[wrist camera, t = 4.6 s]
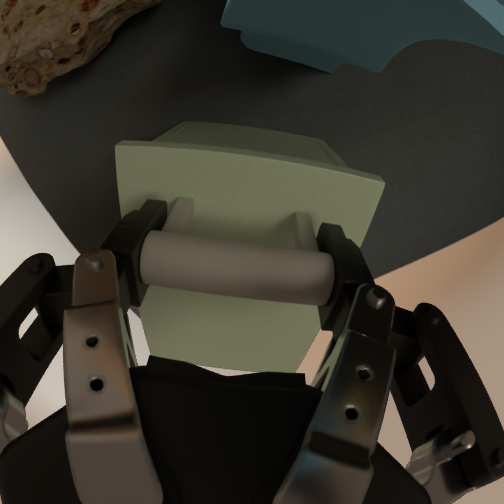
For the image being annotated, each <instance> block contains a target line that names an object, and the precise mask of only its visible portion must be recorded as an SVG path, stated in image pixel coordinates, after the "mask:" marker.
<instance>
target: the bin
mask: <svg viewBox="0 0 504 504" xmlns="http://www.w3.org/2000/svg"><path fill="white" fill-rule="evenodd" d="M153 141H155V142H173V143H187V144H199V145H210V146H219V147H228V148H237V149H244V150H252V151H259V152H266V153H272V154H278V155H284V156H290V157H296V158H301V159H307V160H312V161H317V162H322V163H327V164H331V165H336V166H340V167H345V168H349V167H348V166H347V165H346V164H345V163H344V162H343V161H342V160H341V159H340V157H339V156H338V155H337V154H336V153H335V152H334V151H333V150H332V149H331V148H330V147H329V146H328V145H327V144H326V143H325V142H324V141H323V140H322V139H317V138H312V137H307V136H302V135H297V134H292V133H286V132H280V131H274V130H268V129H261V128H254V127H247V126H239V125H230V124H221V123H211V122H199V121H184V122H182V123H180V124H179V125H177V126H175V127H174V128H172V129H170V130H169V131H167V132H165V133H164V134H162V135H161V136H159V137H157V138H156V139H154V140H153ZM349 169H350V168H349Z"/></svg>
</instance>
